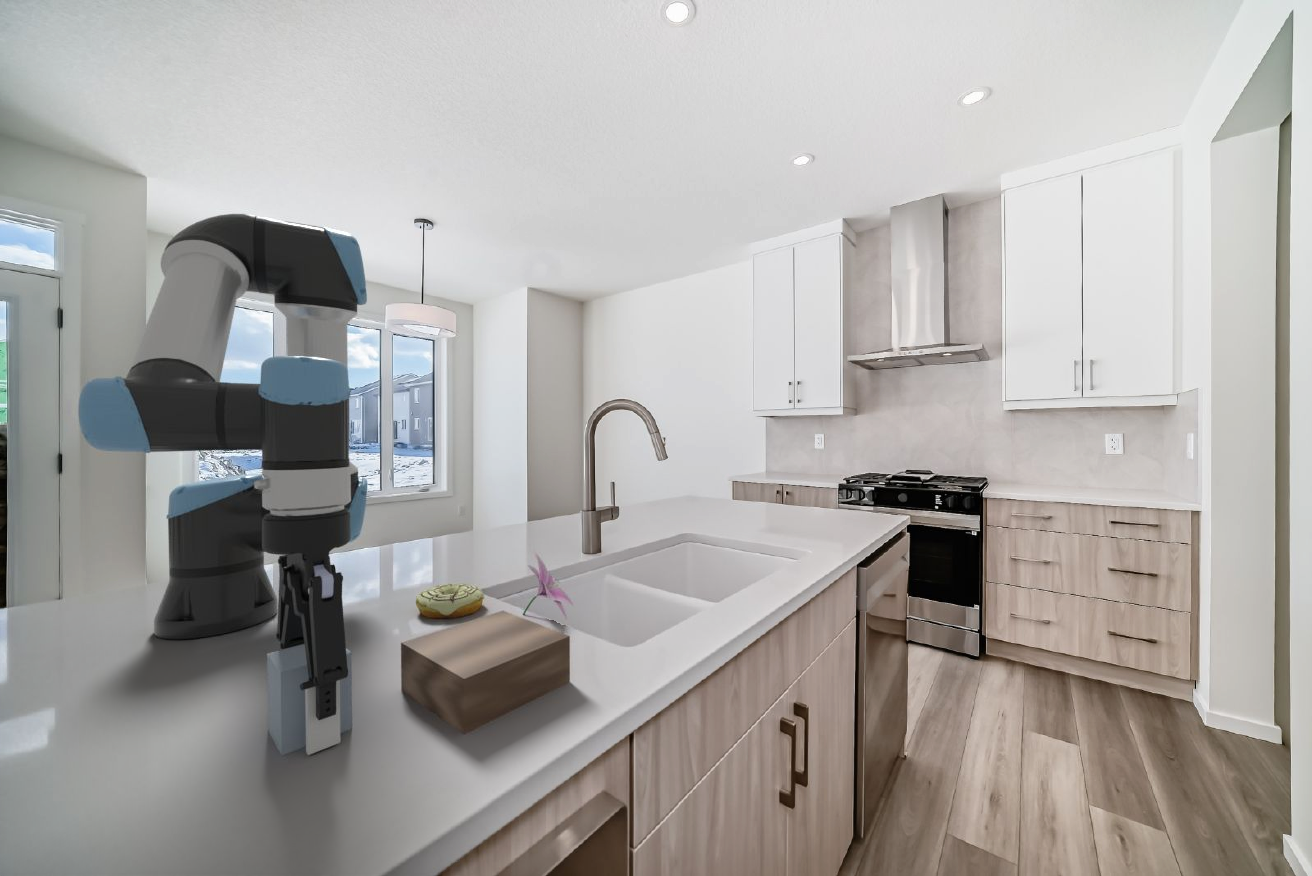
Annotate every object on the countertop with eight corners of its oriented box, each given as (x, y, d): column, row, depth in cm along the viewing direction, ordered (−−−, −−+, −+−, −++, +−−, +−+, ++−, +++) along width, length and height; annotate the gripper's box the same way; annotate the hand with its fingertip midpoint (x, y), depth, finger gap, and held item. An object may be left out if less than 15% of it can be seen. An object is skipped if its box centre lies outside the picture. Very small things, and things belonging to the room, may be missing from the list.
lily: (538, 640, 78) (570, 583, 79) (484, 600, 82) (514, 546, 84) (573, 636, 89) (600, 585, 90) (523, 600, 93) (549, 553, 95)
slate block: (268, 730, 53) (267, 653, 53) (334, 707, 57) (333, 636, 57) (281, 756, 49) (280, 672, 49) (352, 729, 53) (351, 652, 53)
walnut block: (401, 692, 61) (401, 642, 61) (503, 653, 72) (503, 610, 72) (464, 737, 52) (464, 678, 52) (569, 684, 63) (569, 636, 63)
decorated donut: (450, 626, 81) (449, 602, 81) (402, 616, 86) (401, 593, 86) (495, 605, 91) (495, 584, 91) (450, 597, 95) (450, 577, 95)
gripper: (242, 503, 57) (244, 703, 58) (289, 527, 42) (292, 797, 43) (320, 496, 63) (322, 680, 63) (385, 516, 48) (387, 755, 48)
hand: (310, 727), depth 53 cm, fingers open, 9 cm apart
